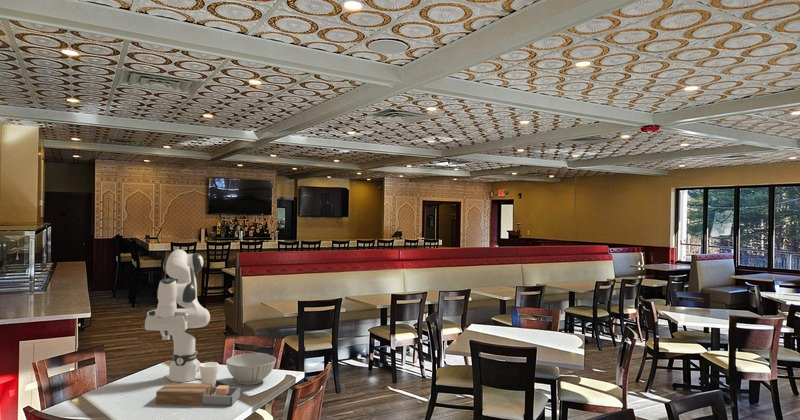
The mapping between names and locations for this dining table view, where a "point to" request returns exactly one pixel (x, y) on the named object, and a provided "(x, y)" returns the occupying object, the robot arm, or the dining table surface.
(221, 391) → the salmon orange block
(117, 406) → the dining table surface
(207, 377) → the foam cup
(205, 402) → the box
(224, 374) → the dining table surface
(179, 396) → the walnut platform
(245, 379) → the decorative bowl
